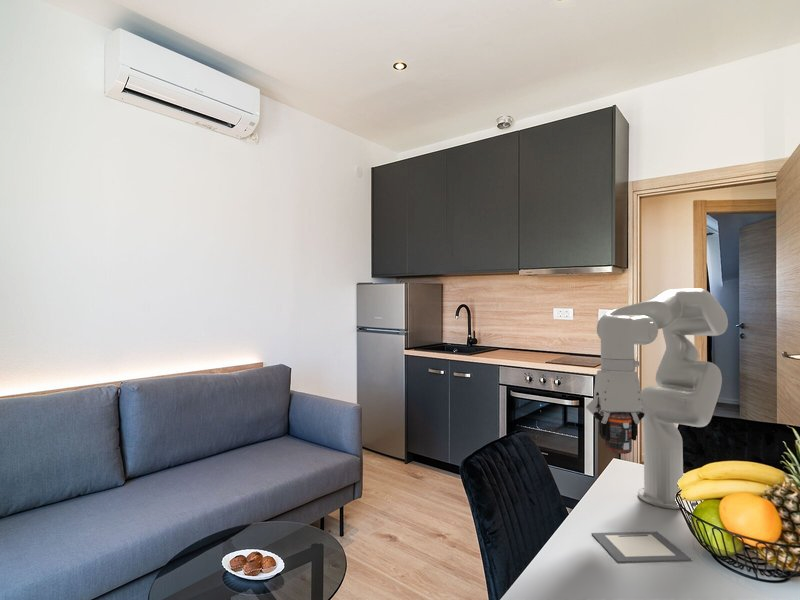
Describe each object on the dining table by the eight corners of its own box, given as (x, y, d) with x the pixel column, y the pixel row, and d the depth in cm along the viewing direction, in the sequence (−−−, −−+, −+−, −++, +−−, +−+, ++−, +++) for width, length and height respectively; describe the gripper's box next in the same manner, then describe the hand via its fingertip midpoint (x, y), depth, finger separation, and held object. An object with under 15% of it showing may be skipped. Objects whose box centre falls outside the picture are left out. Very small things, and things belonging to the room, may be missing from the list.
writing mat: (657, 532, 107) (657, 530, 107) (691, 560, 95) (691, 558, 95) (591, 534, 106) (591, 532, 106) (617, 562, 94) (617, 560, 94)
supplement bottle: (634, 455, 107) (634, 407, 107) (608, 453, 108) (607, 406, 108) (628, 448, 112) (627, 403, 113) (602, 446, 114) (602, 401, 114)
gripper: (643, 364, 115) (644, 435, 114) (576, 363, 114) (577, 434, 114) (660, 367, 107) (662, 443, 106) (589, 367, 107) (589, 443, 106)
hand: (618, 438), depth 110 cm, fingers closed on supplement bottle, 6 cm apart
